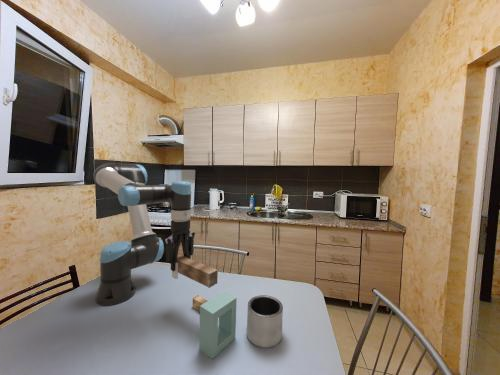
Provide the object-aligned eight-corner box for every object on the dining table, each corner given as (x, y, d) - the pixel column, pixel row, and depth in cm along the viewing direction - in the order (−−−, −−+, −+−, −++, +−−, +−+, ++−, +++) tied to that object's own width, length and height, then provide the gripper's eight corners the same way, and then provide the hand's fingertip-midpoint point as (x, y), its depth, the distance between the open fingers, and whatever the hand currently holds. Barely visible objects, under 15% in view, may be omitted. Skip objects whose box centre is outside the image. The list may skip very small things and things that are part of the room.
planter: (272, 356, 67) (273, 322, 66) (239, 338, 74) (240, 307, 73) (287, 331, 78) (288, 302, 77) (257, 318, 84) (258, 291, 83)
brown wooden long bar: (171, 269, 87) (171, 257, 87) (179, 266, 91) (179, 254, 90) (209, 287, 75) (209, 274, 75) (217, 283, 78) (217, 269, 78)
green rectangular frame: (199, 348, 69) (199, 305, 68) (222, 329, 77) (223, 291, 76) (211, 359, 65) (212, 313, 64) (235, 337, 74) (236, 297, 73)
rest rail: (192, 307, 90) (192, 298, 89) (197, 304, 92) (197, 295, 92) (212, 319, 82) (212, 309, 82) (217, 315, 85) (217, 306, 84)
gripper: (167, 225, 77) (166, 287, 78) (203, 217, 91) (201, 270, 93) (155, 221, 81) (155, 280, 83) (191, 215, 95) (190, 265, 97)
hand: (179, 275), depth 88 cm, fingers closed on brown wooden long bar, 4 cm apart
